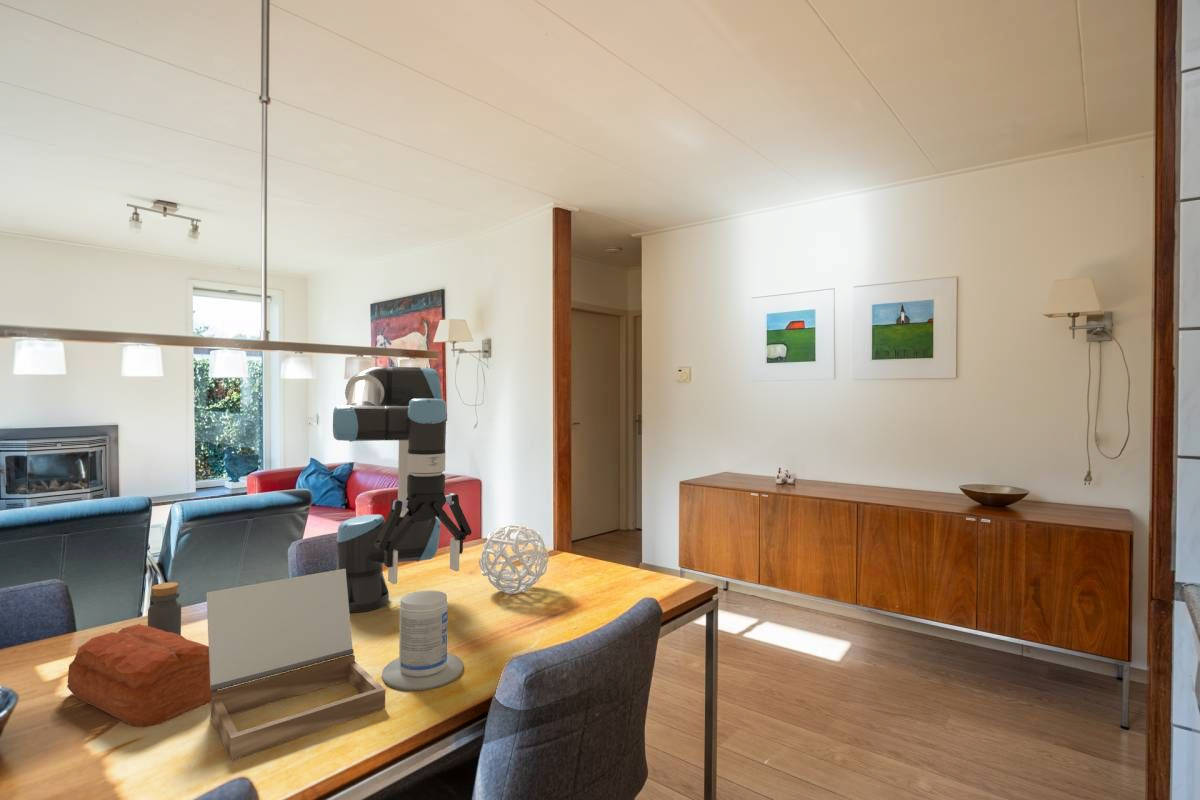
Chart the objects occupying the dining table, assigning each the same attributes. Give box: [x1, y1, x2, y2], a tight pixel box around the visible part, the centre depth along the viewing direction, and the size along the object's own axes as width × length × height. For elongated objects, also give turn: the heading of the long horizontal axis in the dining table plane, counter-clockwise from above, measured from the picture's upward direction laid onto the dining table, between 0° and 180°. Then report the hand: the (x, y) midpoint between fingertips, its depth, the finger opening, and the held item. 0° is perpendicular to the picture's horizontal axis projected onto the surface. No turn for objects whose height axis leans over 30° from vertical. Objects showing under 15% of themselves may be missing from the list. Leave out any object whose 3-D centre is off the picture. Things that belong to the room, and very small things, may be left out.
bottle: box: [147, 581, 182, 636], centre depth 130 cm, size 6×6×15 cm
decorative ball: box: [478, 524, 550, 595], centre depth 176 cm, size 20×20×19 cm
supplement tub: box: [398, 590, 449, 677], centre depth 125 cm, size 10×10×15 cm
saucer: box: [381, 652, 464, 692], centre depth 125 cm, size 16×16×1 cm
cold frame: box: [210, 653, 386, 761], centre depth 108 cm, size 16×24×4 cm
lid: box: [206, 568, 355, 692], centre depth 116 cm, size 17×24×2 cm
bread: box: [66, 623, 217, 728], centre depth 113 cm, size 16×27×11 cm, turn 63°
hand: (424, 575), depth 125 cm, fingers open, 13 cm apart
